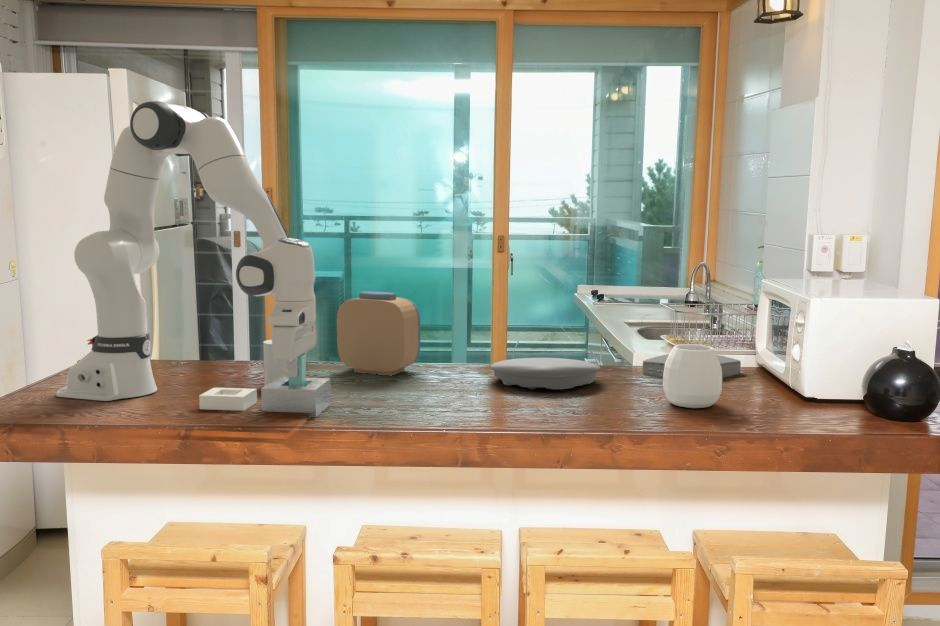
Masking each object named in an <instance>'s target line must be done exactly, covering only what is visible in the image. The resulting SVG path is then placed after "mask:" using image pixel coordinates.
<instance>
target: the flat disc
mask: <svg viewBox="0 0 940 626" xmlns="http://www.w3.org/2000/svg"><path fill="white" fill-rule="evenodd" d="M490 368H491V370H492V371H493V374H494V376H495V377H496V378H497V379H499V380H500V381H502V383H503V385H505V386H508V387H509V386H512V385H514V386H520V387H521V388H527V389H529V390H530V391H534V390H536V389H538V388H542V389H543V388H546V389H551V390H565V389H566V390H567V389H568V390H569V389H573V388H574V387H579V386H585V385H589V384H591V383H593V382H594V381H595V380H596V378H597V375H598V372H599V371H600V370H601V367H600V366H599V365H598V364H596V363H594V362H590V361H586V360H579V359H571V358H562V357H561V358H560V357H521V358H519V357H518V358H512V359H511V358H510V359H504V360H500V361H497V362H494V363H492V364H491V365H490Z"/></svg>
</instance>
